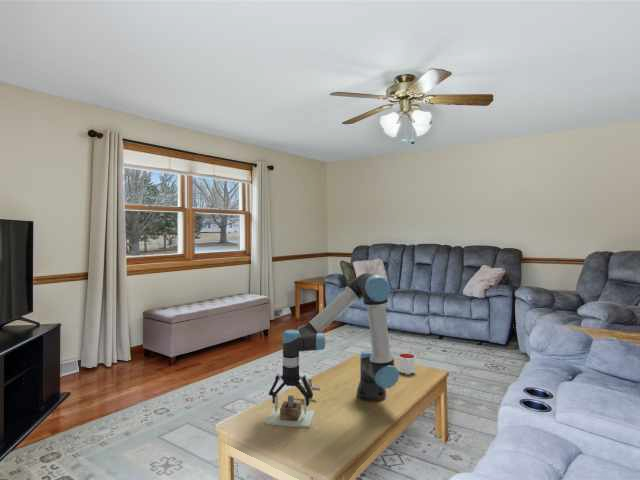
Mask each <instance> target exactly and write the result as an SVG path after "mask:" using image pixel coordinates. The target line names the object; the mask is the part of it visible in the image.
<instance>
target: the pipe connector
mask: <svg viewBox="0 0 640 480" xmlns="http://www.w3.org/2000/svg"><path fill="white" fill-rule="evenodd" d="M308 384H309V386H310V389H311V391H312V392H313V391H318V392H320V391H321V387H320V386H315V383H314V382H313V377H308ZM302 387H303V388H304V389H305V391H306V392H307V390H306V388H305V386H304V385H302ZM307 393H308V392H307ZM310 399H312V398H309V400H310Z"/></svg>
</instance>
